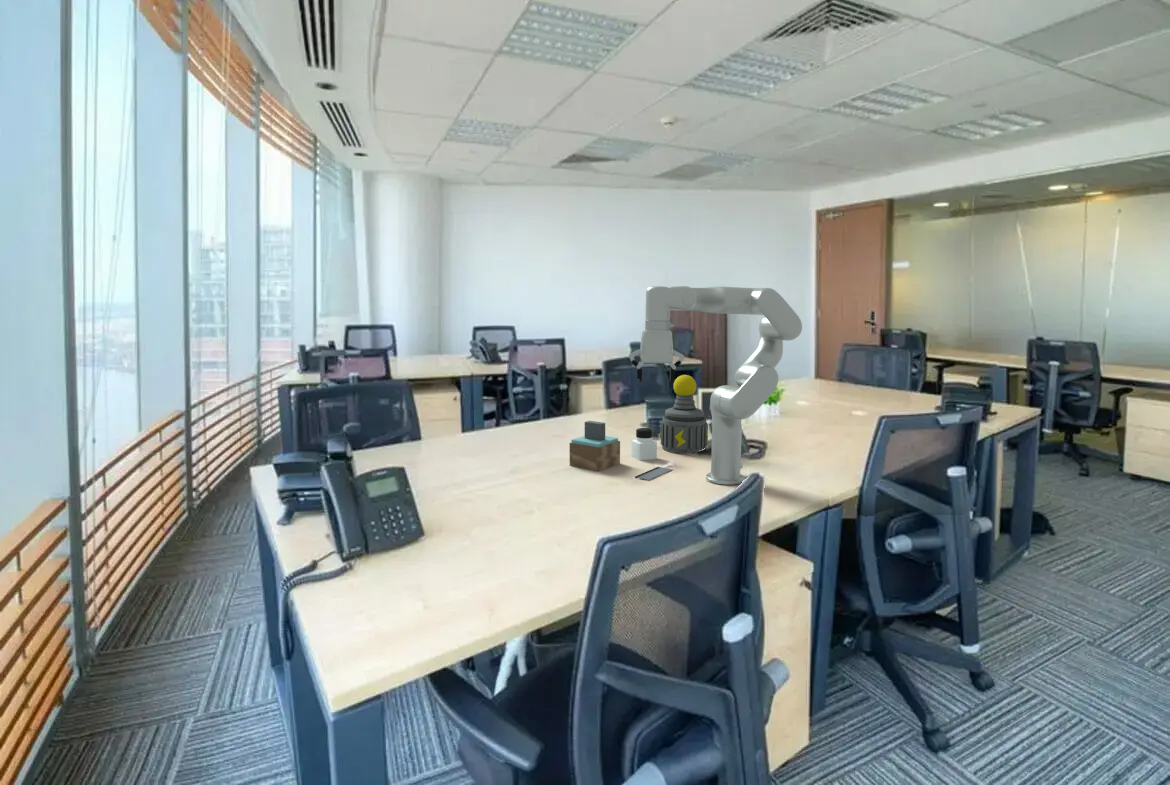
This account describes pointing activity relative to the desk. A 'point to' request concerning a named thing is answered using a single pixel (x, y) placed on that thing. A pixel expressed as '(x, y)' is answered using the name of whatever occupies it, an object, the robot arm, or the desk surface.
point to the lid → (594, 435)
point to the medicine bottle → (644, 445)
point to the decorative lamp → (684, 421)
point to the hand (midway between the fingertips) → (655, 381)
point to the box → (595, 456)
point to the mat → (653, 473)
